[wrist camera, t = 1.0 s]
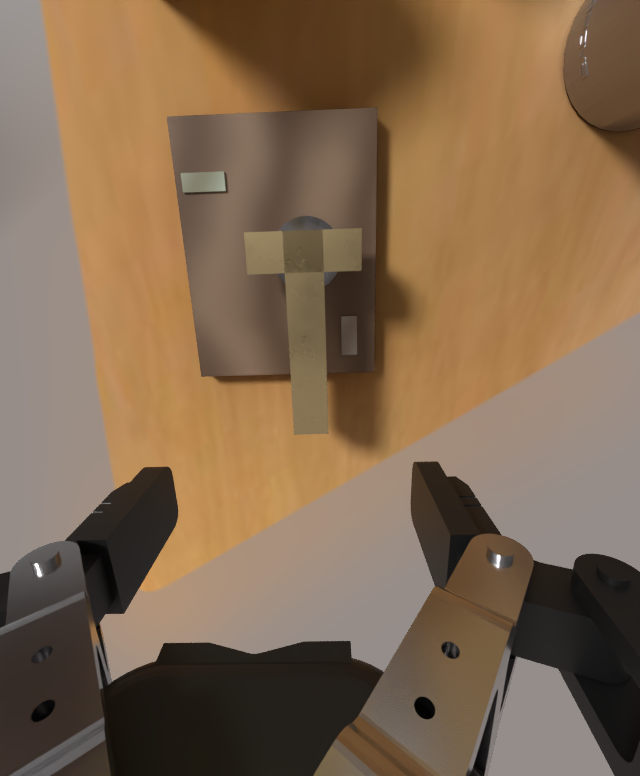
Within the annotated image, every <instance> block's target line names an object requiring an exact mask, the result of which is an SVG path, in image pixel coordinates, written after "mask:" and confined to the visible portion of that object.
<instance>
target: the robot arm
mask: <svg viewBox="0 0 640 776" xmlns="http://www.w3.org/2000/svg"><path fill="white" fill-rule="evenodd" d="M563 72H564V80H565V87H566V90H567V93H568V96H569V98H570V101H571V103H572V104H573V106H574V108H575V109H576V111H577V112H578V114H579V115H580V116H582V117H583V118H584V119H585V120H586V121H587V122H588V123H590V124H592V125H594V126H596V127H598V128H600V129H604V130H609V131H614V132H616V131H630V130H633V129H637V128H640V0H586V1H585V2H584V4H583V6H582V7H581V9H580V11H579V12H578V14H577V16H576V17H575V20H574V22H573V25H572V27H571V30H570V32H569V35H568V39H567V43H566V48H565V52H564V67H563ZM411 515H412V521H413V524H414V527H415V530H416V533H417V536H418V539H419V542H420V544H421V547H422V550H423V553H424V556H425V559H426V562H427V564H428V567H429V570H430V573H431V576H432V579H433V581H434V584H435V587H434V588H433V590H432V591H431V593H430V595H429V596H428V598H427V600H426V601H425V603H424V605H423V607H422V608H421V610H420V612H419V613H418V615H417V617H416V618H415V620H414V622H413V624H412V625H411V627H410V629H409V630H408V632H407V634H406V635H405V637H404V639H403V641H402V642H401V644H400V646H399V647H398V649H397V651H396V653H395V654H394V656H393V658H392V659H391V661H390V663H389V665H388V666H387V668H386V670H385V671H384V672H383V671H381V670H379V669H378V668H376V667H374V666H372V665H370V664H368V663H365V662H363V661H360V660H357V659H353V658H351V643H350V641H323V642H321V641H320V642H301V643H297V644H293V645H290V646H286V647H282V648H278V649H274V650H271V651H267V652H263V653H259V654H250V653H245V652H242V651H238V650H235V649H231V648H227V647H223V646H220V645H216V644H212V643H164V644H163V647H162V649H161V651H160V654H159V656H158V658H157V660H156V661H155V662H152V663H149V664H146V665H144V666H141V667H138V668H136V669H134V670H132V671H130V672H128V673H126V674H124V675H123V676H121V677H119V678H118V679H116V680H114V681H113V682H112V679H111V674H110V669H109V664H108V658H107V653H106V648H105V643H104V638H103V632H102V629H101V625H100V621H101V620H102V618H103V617H104V615H105V614H124V613H125V611H126V609H127V607H128V606H129V604H130V603H131V601H132V599H133V597H134V596H135V594H136V592H137V591H138V589H139V587H140V586H141V584H142V582H143V580H144V579H145V577H146V575H147V574H148V572H149V570H150V568H151V567H152V565H153V563H154V562H155V560H156V558H157V557H158V555H159V553H160V551H161V550H162V548H163V546H164V545H165V543H166V541H167V540H168V538H169V536H170V534H171V533H172V531H173V529H174V528H175V525H176V522H177V518H178V505H177V499H176V493H175V487H174V481H173V475H172V471H171V469H170V468H169V467H145V468H143V469H142V470H141V471H140V472H139V473H138V474H137V475H136V477H135V478H134V479H133V480H132V481H131V482H130V483H126V484H124V485H122V486H121V487H119V488H117V489H116V490H114V491H113V492H111V493H110V494H109V495H108V497H107V498H106V499H105V500H104V501H103V502H102V504H100V505H99V506H98V507H97V508H96V509H95V510H94V512H93V513H91V514H90V515H89V516H88V517H87V518H86V519H85V520H84V521H83V522H82V524H81V525H80V526H79V527H78V528H77V529H76V530H75V531H74V532H73V533H72V534H71V535H70V536H69V537H68V538H67V539H66V540H65V541H60V542H54V543H50V544H47V545H45V546H42V547H40V548H37V549H35V550H33V551H32V552H30V553H28V554H27V555H25V556H24V557H23V558H21V559H20V560H19V561H18V562H17V563H16V564H15V565H14V567H13V568H12V570H11V571H10V572H6V573H2V574H0V776H487V775H488V771H489V767H490V763H491V758H492V754H493V750H494V745H495V740H496V735H497V731H498V727H499V723H500V720H501V716H502V712H503V709H504V705H505V701H506V697H507V694H508V690H509V686H510V683H511V679H512V675H513V672H514V668H515V664H516V660H517V657H521V658H524V659H527V660H531V661H534V662H537V663H541V664H545V665H548V666H551V667H554V668H558V669H559V671H560V672H561V674H562V676H563V679H564V680H565V682H566V684H567V686H568V688H569V690H570V692H571V693H572V696H573V698H574V699H575V701H576V703H577V705H578V707H579V709H580V711H581V713H582V714H583V716H584V718H585V720H586V722H587V724H588V726H589V728H590V730H591V732H592V734H593V735H594V737H595V739H596V741H597V743H598V745H599V747H600V749H601V751H602V753H603V754H604V756H605V758H606V760H607V762H608V764H609V766H610V768H611V769H612V772H613V773H614V775H615V776H640V572H639V571H638V570H636V569H635V568H633V567H632V566H630V565H628V564H626V563H624V562H622V561H620V560H618V559H615V558H612V557H609V556H605V555H599V554H585V555H581V556H579V557H578V558H577V559H576V560H575V563H574V567H573V570H572V569H567V568H563V567H558V566H553V565H548V564H544V563H540V562H537V561H534V560H533V558H532V555H531V554H530V552H529V551H528V550H527V549H526V548H525V547H524V546H522V545H521V544H520V543H518V542H517V541H515V540H513V539H510V538H508V537H505V536H502V535H501V534H500V532H499V531H498V529H497V528H496V526H495V525H494V523H493V522H492V520H491V519H490V517H489V516H488V514H487V513H486V511H485V510H484V509H483V507H481V504H480V503H479V501H478V499H477V498H475V495H474V493H473V492H472V490H471V489H470V488H469V486H468V485H467V484H465V483H464V482H463V481H461V480H460V479H458V478H457V477H447V476H446V475H445V473H444V471H443V470H442V468H441V466H440V464H439V463H438V462H414V463H413V468H412V487H411Z"/></svg>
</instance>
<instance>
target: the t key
mask: <svg viewBox="0 0 640 776" xmlns="http://www.w3.org/2000/svg"><path fill="white" fill-rule="evenodd" d="M244 241H245V252H246V264H247V275H250V274H277V275H278V276H279V277H280V279H281V280H282V281H283V282H284V283H285V286H286V303H287V320H288V337H289V354H290V372H291V389H292V406H293V423H294V435H295V434H328V395H327V359H326V323H325V287H324V286H326V285H327V284H328V283H329V282H331V281H332V280H333V278H334V277H335V276H336V274H337V272H338V271H362V228H351V229H333V228H332V227H331V226H330V225H329V224H328V223H326V222H325V221H323V220H321V219H319V218H316V217H312V216H300V217H296V218H293V219H291V220H289V221H288V222H286V223H285V224H284V225H283V226H282V227H281V228H280V229H279V231H269V232H244Z"/></svg>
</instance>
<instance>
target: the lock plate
mask: <svg viewBox="0 0 640 776" xmlns="http://www.w3.org/2000/svg"><path fill="white" fill-rule="evenodd" d="M167 122H168V130H169V137H170V145H171V152H172V160H173V167H174V175H175V182H176V190H177V197H178V204H179V212H180V219H181V227H182V234H183V242H184V249H185V257H186V264H187V272H188V279H189V287H190V294H191V302H192V309H193V317H194V324H195V332H196V339H197V347H198V354H199V361H200V369H201V376H202V377H205V376H241V375H277V374H291V372H290V354H289V337H288V320H287V303H286V286H285V283H284V282H283V281H282V280H281V279H280V277H279V276H278V275H277V274H250V275H247V264H246V252H245V241H244V232H269V231H279V229H280V228H281V227H282V226H283V225H284V224H285V223H286V222H288V221H289V220H291V219H293V218H296V217H300V216H312V217H316V218H319V219H321V220H323V221H325V222H326V223H328V224H329V225H330V226H331V227H332V228H333V229H351V228H362V271H338V272H337V274H336V276H335V277H334V278H333V280H332V281H331V282H329V283H328V284H327V285H326V286H324V287H325V323H326V359H327V373H350V372H374V350H375V268H376V185H377V107H375V108H352V109H329V110H307V111H284V112H261V113H239V114H216V115H194V116H171V117H167Z"/></svg>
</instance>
